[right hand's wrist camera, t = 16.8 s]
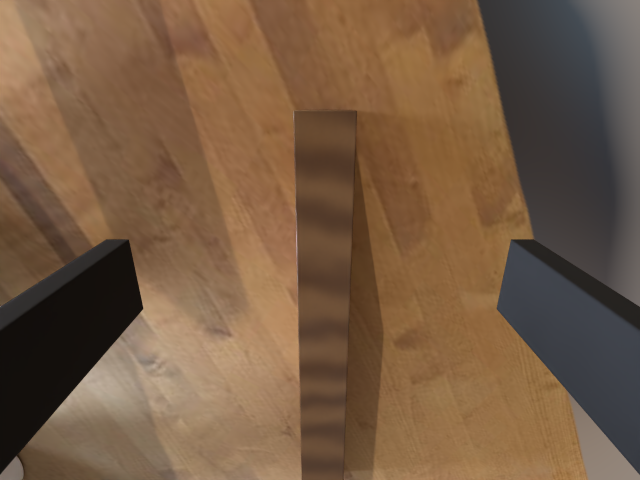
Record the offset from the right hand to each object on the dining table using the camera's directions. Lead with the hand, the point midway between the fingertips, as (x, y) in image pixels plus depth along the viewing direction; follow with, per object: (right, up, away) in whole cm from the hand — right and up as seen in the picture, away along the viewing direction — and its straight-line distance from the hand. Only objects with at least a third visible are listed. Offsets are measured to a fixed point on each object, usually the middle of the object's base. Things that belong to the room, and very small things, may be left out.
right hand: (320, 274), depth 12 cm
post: (0, -11, +35) cm, 37 cm away
